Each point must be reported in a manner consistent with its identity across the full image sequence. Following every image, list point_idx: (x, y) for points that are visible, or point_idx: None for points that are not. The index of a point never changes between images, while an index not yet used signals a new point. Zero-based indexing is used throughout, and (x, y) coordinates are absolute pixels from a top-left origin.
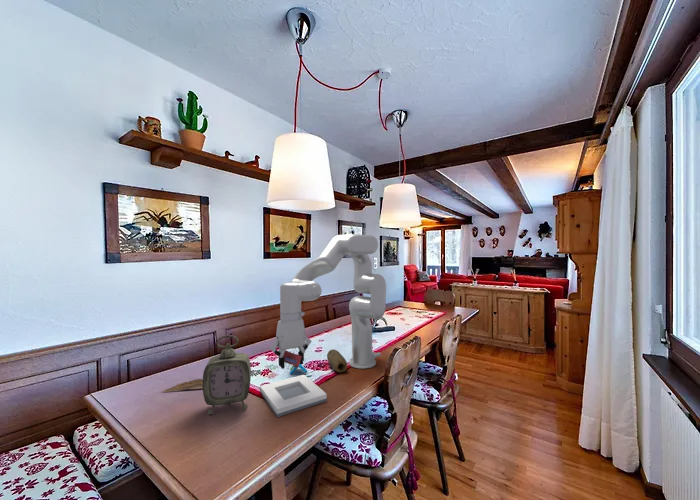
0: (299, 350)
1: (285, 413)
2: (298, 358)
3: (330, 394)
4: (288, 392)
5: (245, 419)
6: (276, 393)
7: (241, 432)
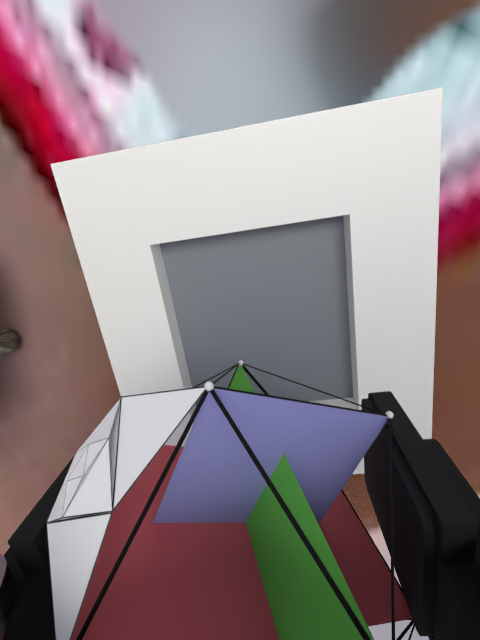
0: (468, 615)
1: None
2: (349, 560)
3: (470, 391)
4: (243, 294)
5: (31, 415)
6: (158, 335)
7: (29, 485)
